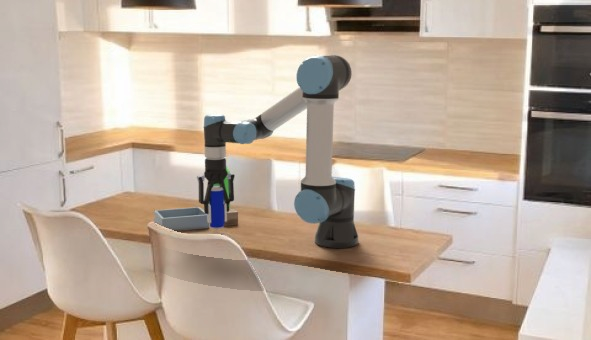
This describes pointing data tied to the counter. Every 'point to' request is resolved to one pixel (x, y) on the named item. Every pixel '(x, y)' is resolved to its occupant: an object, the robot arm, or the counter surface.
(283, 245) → the counter surface
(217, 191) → the beverage can
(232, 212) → the walnut cube
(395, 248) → the counter surface
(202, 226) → the box
